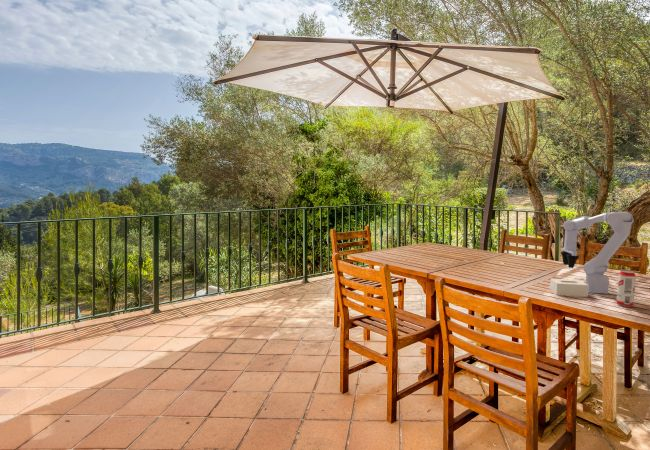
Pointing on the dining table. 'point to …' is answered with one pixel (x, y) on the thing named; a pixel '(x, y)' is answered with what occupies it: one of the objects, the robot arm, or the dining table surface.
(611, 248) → the robot arm
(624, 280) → the beer can
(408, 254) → the dining table surface
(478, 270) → the dining table surface
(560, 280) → the box
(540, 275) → the dining table surface
